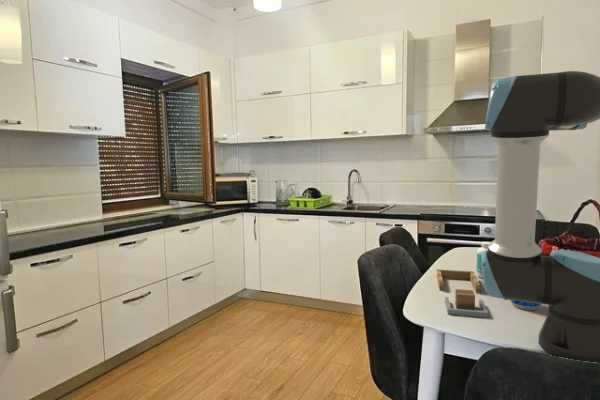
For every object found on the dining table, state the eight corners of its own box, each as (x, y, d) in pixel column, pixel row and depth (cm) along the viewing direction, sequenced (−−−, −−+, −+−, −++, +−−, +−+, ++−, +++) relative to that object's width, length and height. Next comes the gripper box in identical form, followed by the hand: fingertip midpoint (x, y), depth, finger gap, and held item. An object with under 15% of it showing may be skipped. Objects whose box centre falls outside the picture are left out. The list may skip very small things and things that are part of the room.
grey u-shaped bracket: (488, 317, 113) (488, 312, 112) (447, 314, 116) (447, 309, 116) (482, 304, 123) (482, 300, 122) (444, 301, 126) (445, 297, 126)
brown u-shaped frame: (479, 293, 133) (480, 284, 133) (439, 290, 136) (439, 282, 136) (472, 279, 148) (473, 271, 148) (436, 276, 152) (436, 269, 151)
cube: (474, 311, 118) (475, 295, 117) (456, 310, 119) (457, 294, 118) (472, 305, 122) (472, 290, 122) (455, 304, 124) (455, 289, 123)
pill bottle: (496, 281, 145) (497, 245, 144) (475, 278, 149) (476, 243, 148) (498, 275, 152) (499, 241, 150) (477, 273, 156) (478, 240, 154)
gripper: (531, 150, 125) (528, 223, 128) (520, 151, 138) (518, 217, 140) (505, 151, 127) (503, 222, 130) (497, 151, 140) (495, 216, 142)
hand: (511, 219), depth 135 cm, fingers closed
